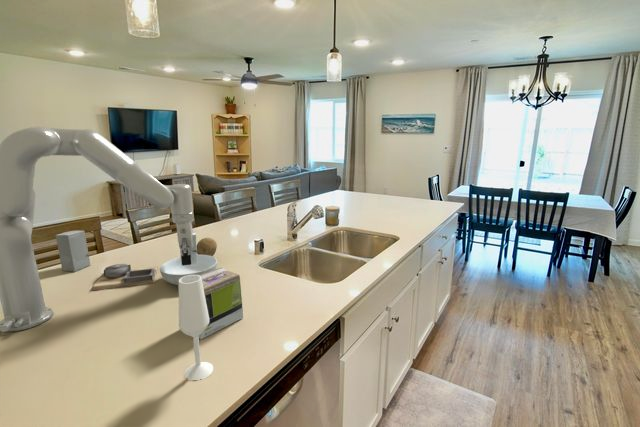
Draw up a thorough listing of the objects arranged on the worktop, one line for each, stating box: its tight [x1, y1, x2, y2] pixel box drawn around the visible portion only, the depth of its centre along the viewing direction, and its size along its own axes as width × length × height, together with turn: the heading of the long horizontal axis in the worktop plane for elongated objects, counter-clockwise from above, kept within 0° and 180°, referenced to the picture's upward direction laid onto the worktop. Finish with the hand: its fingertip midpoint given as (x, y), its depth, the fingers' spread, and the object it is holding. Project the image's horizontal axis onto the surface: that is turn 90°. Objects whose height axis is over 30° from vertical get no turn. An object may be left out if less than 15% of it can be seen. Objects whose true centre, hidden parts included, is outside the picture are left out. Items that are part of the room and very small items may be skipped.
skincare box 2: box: [179, 231, 198, 266], centre depth 129 cm, size 6×4×12 cm
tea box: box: [177, 267, 244, 340], centre depth 100 cm, size 15×10×15 cm
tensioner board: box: [92, 263, 158, 291], centre depth 132 cm, size 14×20×5 cm
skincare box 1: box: [55, 230, 91, 273], centre depth 142 cm, size 8×7×16 cm
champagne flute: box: [178, 275, 214, 381], centre depth 78 cm, size 7×7×24 cm
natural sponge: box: [196, 237, 218, 257], centre depth 153 cm, size 9×9×10 cm
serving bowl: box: [159, 254, 218, 286], centre depth 131 cm, size 21×21×7 cm
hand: (187, 260), depth 129 cm, fingers open, 9 cm apart
